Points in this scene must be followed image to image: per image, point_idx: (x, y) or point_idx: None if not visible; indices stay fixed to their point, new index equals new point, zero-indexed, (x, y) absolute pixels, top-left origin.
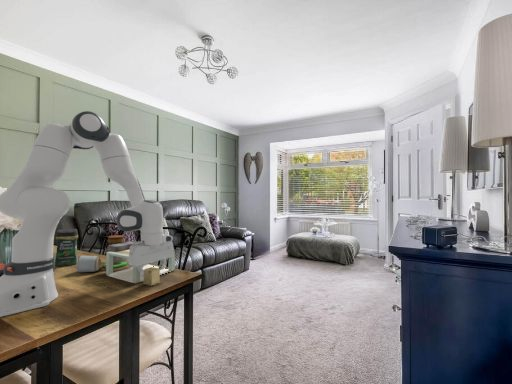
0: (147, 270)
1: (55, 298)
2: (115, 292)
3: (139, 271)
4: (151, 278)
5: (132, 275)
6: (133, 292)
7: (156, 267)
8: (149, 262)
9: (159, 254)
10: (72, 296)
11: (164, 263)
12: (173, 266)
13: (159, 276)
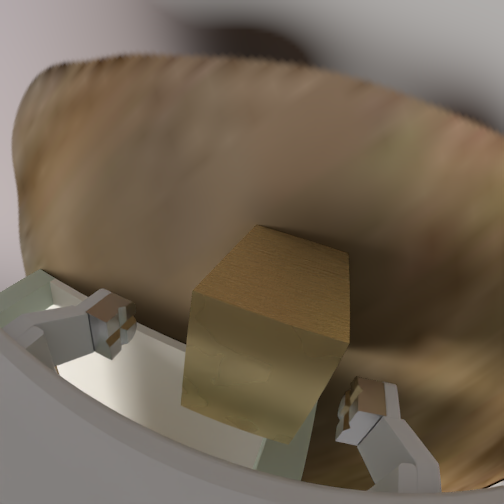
0: (312, 404)
1: (500, 482)
2: (482, 394)
3: (269, 448)
4: (347, 289)
5: (210, 445)
6: (497, 301)
7: (69, 378)
8: (313, 491)
9: (22, 464)
10: (487, 471)
11: (58, 312)
12: (22, 285)
13: (237, 248)
